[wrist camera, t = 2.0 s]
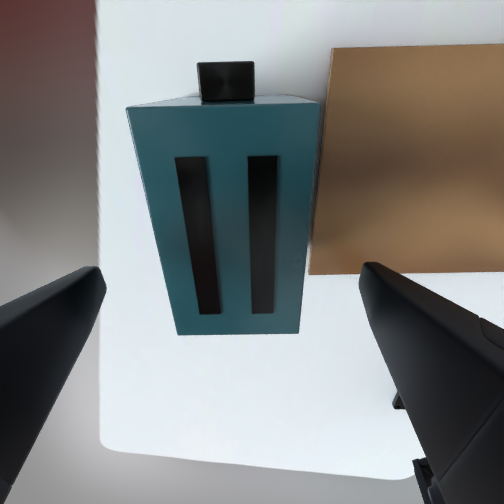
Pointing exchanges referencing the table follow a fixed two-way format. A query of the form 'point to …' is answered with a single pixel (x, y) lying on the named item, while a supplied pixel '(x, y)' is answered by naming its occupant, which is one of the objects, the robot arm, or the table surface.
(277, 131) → the toaster
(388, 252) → the mat
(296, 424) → the table surface
